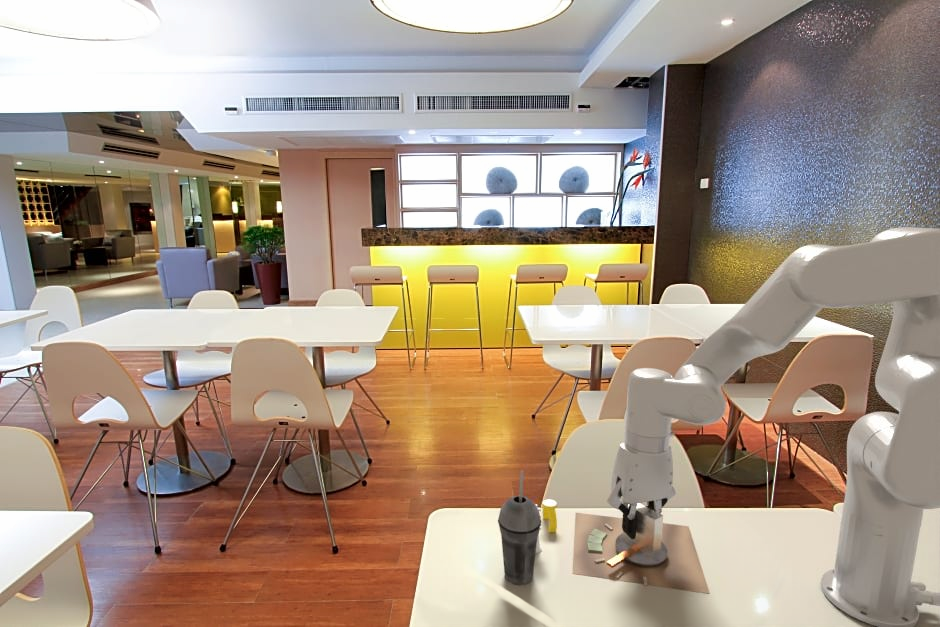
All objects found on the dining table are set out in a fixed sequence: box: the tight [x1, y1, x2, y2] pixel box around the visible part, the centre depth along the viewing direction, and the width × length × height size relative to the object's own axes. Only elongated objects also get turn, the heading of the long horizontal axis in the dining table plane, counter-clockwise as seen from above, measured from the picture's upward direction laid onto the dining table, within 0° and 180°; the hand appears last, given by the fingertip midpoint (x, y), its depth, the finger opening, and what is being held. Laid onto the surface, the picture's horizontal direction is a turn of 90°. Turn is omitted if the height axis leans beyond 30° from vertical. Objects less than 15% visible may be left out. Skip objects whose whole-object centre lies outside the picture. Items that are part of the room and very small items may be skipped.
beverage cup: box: [497, 470, 542, 586], centre depth 86 cm, size 7×7×20 cm
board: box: [572, 512, 711, 595], centre depth 95 cm, size 22×19×2 cm
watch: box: [542, 498, 558, 533], centre depth 102 cm, size 6×3×6 cm, turn 6°
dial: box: [607, 503, 667, 568], centre depth 92 cm, size 14×9×8 cm, turn 127°
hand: (639, 531), depth 93 cm, fingers closed on dial, 3 cm apart
